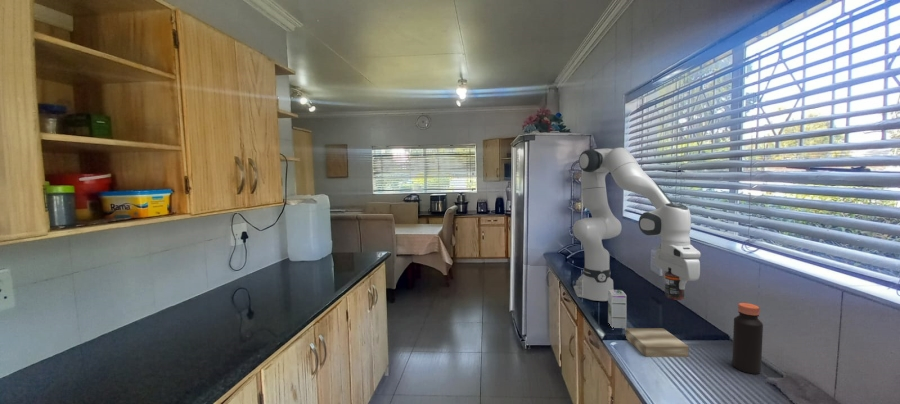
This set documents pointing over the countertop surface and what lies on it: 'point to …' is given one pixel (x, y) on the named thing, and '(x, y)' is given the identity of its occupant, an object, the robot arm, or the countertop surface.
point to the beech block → (656, 342)
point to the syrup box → (617, 309)
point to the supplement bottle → (672, 286)
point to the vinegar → (747, 339)
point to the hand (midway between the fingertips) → (674, 285)
